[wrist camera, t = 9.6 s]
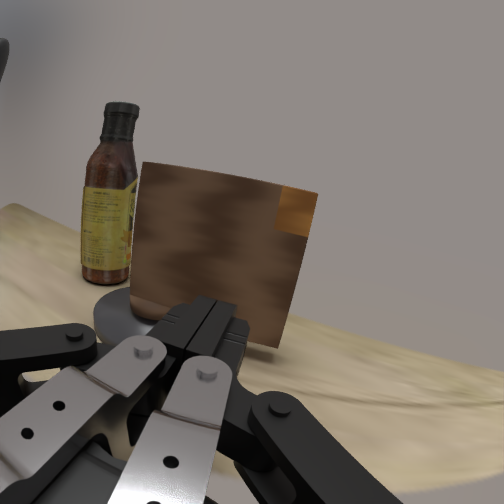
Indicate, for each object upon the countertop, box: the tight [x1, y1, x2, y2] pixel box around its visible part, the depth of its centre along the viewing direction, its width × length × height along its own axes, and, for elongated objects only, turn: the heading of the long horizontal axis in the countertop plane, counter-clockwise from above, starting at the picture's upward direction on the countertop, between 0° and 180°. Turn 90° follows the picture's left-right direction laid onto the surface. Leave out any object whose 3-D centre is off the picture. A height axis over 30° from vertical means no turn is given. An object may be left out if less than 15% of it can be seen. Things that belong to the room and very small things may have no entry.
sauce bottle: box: [81, 102, 140, 284], centre depth 28 cm, size 6×6×20 cm
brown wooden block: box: [130, 162, 318, 348], centre depth 22 cm, size 13×4×12 cm, turn 80°
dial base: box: [94, 287, 160, 346], centre depth 24 cm, size 11×11×1 cm
